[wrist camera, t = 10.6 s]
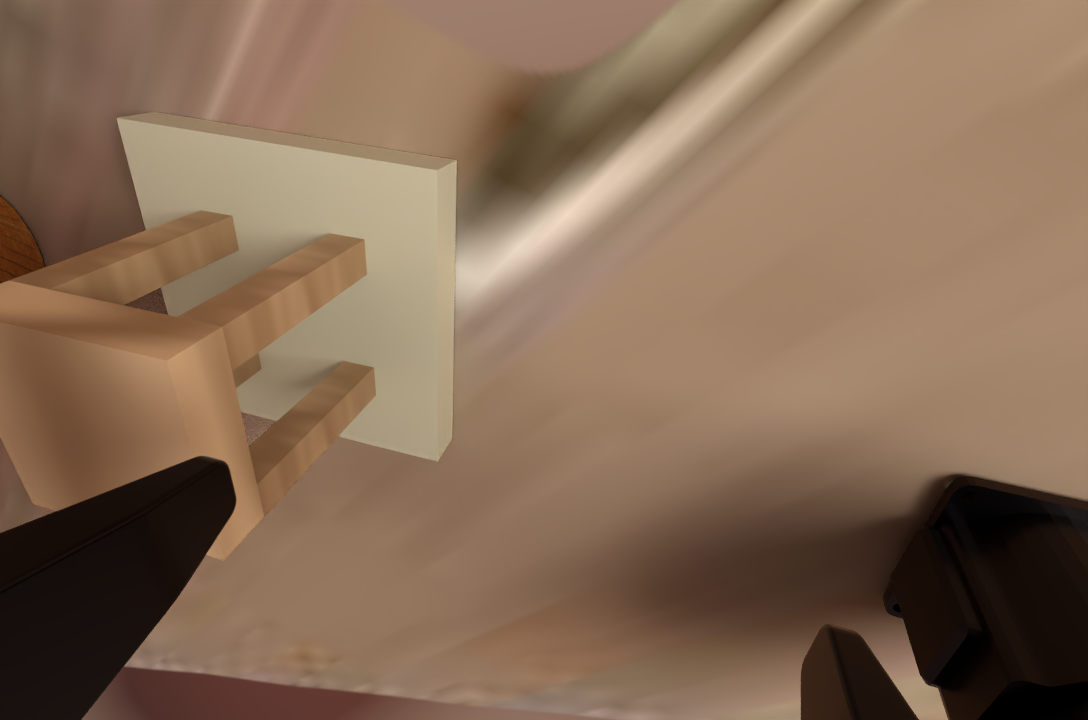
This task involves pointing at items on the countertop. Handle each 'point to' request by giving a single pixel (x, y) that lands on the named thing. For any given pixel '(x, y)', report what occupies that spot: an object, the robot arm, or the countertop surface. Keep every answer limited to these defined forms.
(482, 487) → the countertop surface
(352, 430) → the sage board
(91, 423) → the maple stool
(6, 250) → the disposable coffee cup
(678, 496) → the countertop surface
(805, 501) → the countertop surface
